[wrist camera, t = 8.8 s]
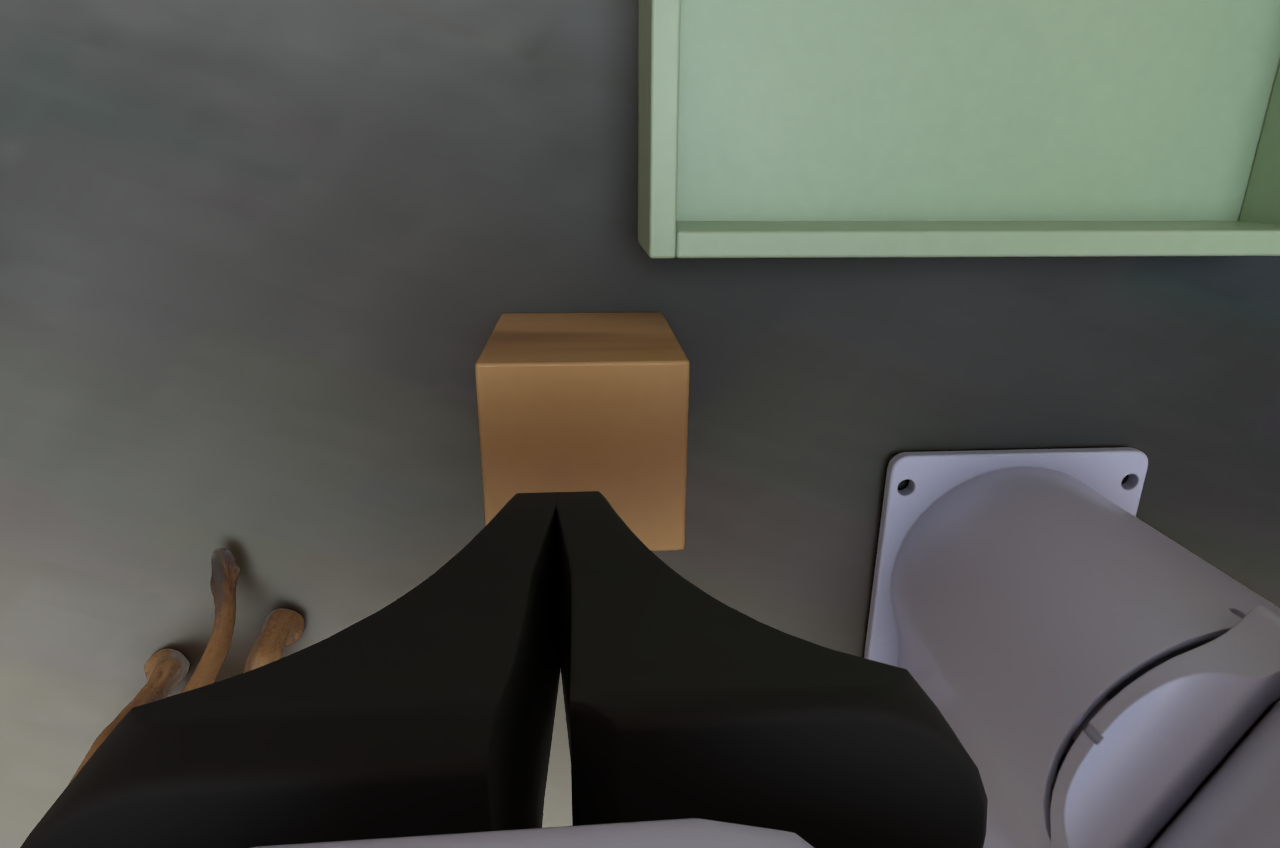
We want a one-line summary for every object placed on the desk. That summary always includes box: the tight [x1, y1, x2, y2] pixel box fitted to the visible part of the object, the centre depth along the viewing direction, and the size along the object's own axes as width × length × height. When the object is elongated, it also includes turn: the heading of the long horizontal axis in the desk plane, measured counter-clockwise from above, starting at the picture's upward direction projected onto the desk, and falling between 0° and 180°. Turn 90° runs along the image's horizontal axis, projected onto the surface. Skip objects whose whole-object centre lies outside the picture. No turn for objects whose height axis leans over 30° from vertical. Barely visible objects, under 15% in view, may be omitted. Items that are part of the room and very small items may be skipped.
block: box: [475, 312, 690, 551], centre depth 19 cm, size 4×4×6 cm
